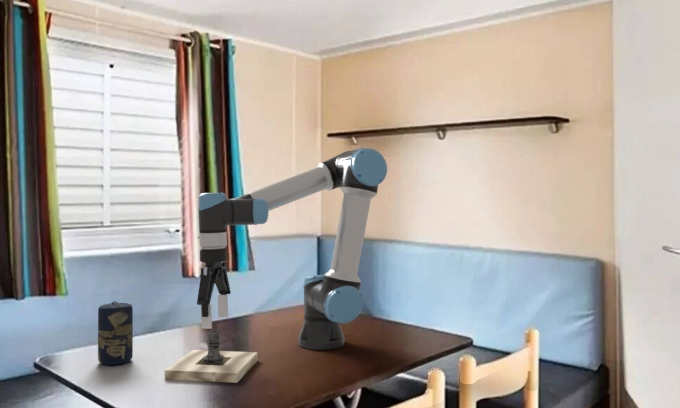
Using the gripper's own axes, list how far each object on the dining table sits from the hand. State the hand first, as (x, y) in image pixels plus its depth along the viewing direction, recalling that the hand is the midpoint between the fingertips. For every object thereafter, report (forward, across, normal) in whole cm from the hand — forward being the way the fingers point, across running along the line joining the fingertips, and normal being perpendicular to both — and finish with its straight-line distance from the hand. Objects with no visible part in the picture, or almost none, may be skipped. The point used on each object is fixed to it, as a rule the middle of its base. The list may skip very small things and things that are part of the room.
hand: (215, 322), depth 161 cm
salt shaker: (+14, 0, -1) cm, 14 cm away
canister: (+13, -3, -32) cm, 34 cm away
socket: (+13, 0, -1) cm, 13 cm away
